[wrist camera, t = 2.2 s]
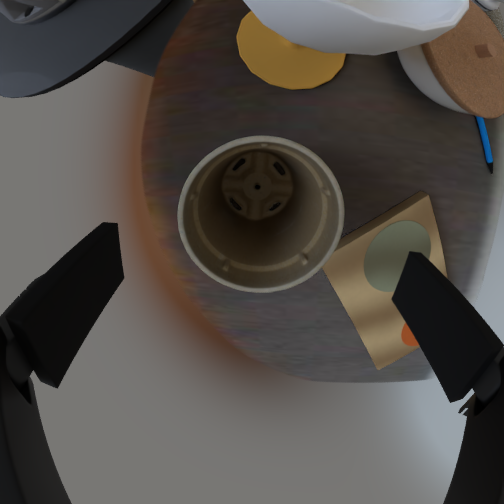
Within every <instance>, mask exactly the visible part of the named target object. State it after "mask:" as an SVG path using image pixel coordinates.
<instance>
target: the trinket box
mask: <svg viewBox="0 0 504 504" xmlns="http://www.w3.org/2000/svg"><path fill="white" fill-rule="evenodd" d="M397 53H398V57H399V60H400V62H401V64H402V67H403V69H404V70H405V72H406V74H407V75H408V77H409V78H410V80H411V81H412V82H413V83H414V84H415V86H416V87H417V88H418V89H419V90H420V91H421V92H422V93H423V94H424V95H426V96H427V97H428V98H430V99H431V100H433V101H434V102H436V103H438V104H440V105H442V106H444V107H446V108H449V109H451V110H454V111H458V112H461V113H467V114H472V115H475V116H478V117H482V118H488V119H490V118H497V117H499V116H501V115H502V114H504V40H503V38H502V36H501V34H500V32H499V31H498V29H497V28H496V26H495V25H494V23H493V22H492V20H491V19H490V18H489V17H488V16H487V15H486V13H485V12H484V11H483V10H482V9H481V8H480V7H479V6H477V5H476V4H475V3H474V2H472V1H471V0H469V9H468V11H467V12H466V13H465V15H464V16H463V17H462V19H461V20H460V21H459V23H458V24H457V25H456V26H455V27H454V28H453V29H451V30H449V31H447V32H446V33H444V34H442V35H441V36H439V37H437V38H436V39H434V40H432V41H431V42H427V43H423V44H419V45H415V46H412V47H408V48H405V49H402V50H398V51H397Z"/></svg>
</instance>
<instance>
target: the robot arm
mask: <svg viewBox="0 0 504 504" xmlns="http://www.w3.org/2000/svg"><path fill="white" fill-rule="evenodd" d="M75 1H76V0H0V12H1V13H2V14H3V15H5V16H6V17H7V18H8V19H9V20H10V21H12V22H14V23H19V24H24V25H34V24H38V23H41V22H44V21H46V20H48V19H50V18H52V17H54V16H55V15H57V14H58V13H60V12H62V11H63V10H64V9H66V8H67V7H69V6H70V5H71V4H73V3H74V2H75ZM123 279H124V273H123V266H122V259H121V250H120V242H119V232H118V224H117V223H108V222H103V223H101V224H100V225H99V226H98V227H96V228H95V229H94V230H93V231H92V232H90V233H89V234H88V235H87V236H86V237H85V238H83V239H82V240H81V241H80V242H79V243H78V244H77V245H75V246H74V247H73V248H72V249H71V250H70V251H69V252H67V253H66V254H65V255H64V256H63V257H62V258H61V259H60V260H59V261H58V262H57V263H56V264H55V265H53V266H52V267H51V268H50V269H49V270H48V271H47V272H46V273H45V274H43V275H42V276H40V277H38V278H37V279H35V280H34V281H33V282H32V283H31V284H30V285H29V286H28V287H27V288H26V290H24V291H23V292H22V293H21V294H20V297H19V296H18V297H17V298H16V299H15V300H14V302H13V303H12V304H11V305H10V306H9V307H8V308H7V309H6V310H5V312H4V313H3V314H2V315H1V316H0V504H72V503H71V501H70V499H69V498H68V495H67V493H66V491H65V489H64V486H63V484H62V482H61V479H60V477H59V474H58V472H57V469H56V466H55V464H54V461H53V458H52V456H51V453H50V450H49V446H48V443H47V440H46V437H45V434H44V430H43V426H42V422H41V419H40V414H39V410H38V406H37V401H36V397H35V391H34V386H33V382H32V380H31V378H30V375H31V373H32V371H33V370H34V372H35V373H36V375H37V377H38V378H39V380H40V381H41V382H43V383H45V384H48V385H50V386H52V387H55V388H58V387H59V385H60V383H61V381H62V379H63V377H64V375H65V374H66V371H67V370H68V368H69V366H70V364H71V362H72V361H73V359H74V357H75V355H76V354H77V352H78V350H79V348H80V347H81V345H82V343H83V342H84V340H85V338H86V337H87V335H88V333H89V331H90V330H91V328H92V327H93V325H94V323H95V322H96V320H97V319H98V317H99V315H100V314H101V312H102V311H103V309H104V307H105V306H106V305H107V303H108V302H109V300H110V298H111V297H112V295H113V294H114V292H115V291H116V290H117V288H118V287H119V285H120V284H121V282H122V281H123ZM391 300H392V302H393V303H394V305H395V306H396V308H397V309H398V311H399V312H400V314H401V316H402V317H403V319H404V320H405V322H406V324H407V325H408V327H409V329H410V330H411V332H412V334H413V335H414V337H415V339H416V340H417V342H418V344H419V345H420V347H421V349H422V351H423V352H424V354H425V356H426V358H427V359H428V361H429V363H430V365H431V367H432V369H433V370H434V372H435V374H436V376H437V378H438V380H439V382H440V384H441V385H442V387H443V390H444V392H445V393H446V395H447V398H448V399H449V401H450V403H451V402H455V401H457V400H460V399H463V398H464V397H465V396H466V394H467V393H468V392H469V391H470V390H471V389H472V388H473V390H474V392H475V393H474V394H473V395H472V396H471V397H470V399H469V400H468V401H467V402H466V403H465V404H464V405H463V406H462V407H461V408H460V410H459V412H458V413H461V412H462V411H463V410H464V409H465V408H468V409H467V410H466V412H465V413H464V414H463V415H465V416H467V420H466V426H465V431H464V436H463V441H462V445H461V449H460V453H459V457H458V461H457V464H456V468H455V471H454V475H453V478H452V481H451V484H450V487H449V490H448V493H447V495H446V498H445V501H444V503H443V504H504V347H503V346H504V345H503V343H502V342H501V341H500V339H499V338H498V337H497V335H496V334H495V333H494V332H493V330H492V329H491V328H490V326H489V325H488V324H487V323H486V322H485V320H484V319H483V318H482V317H481V316H480V314H479V313H478V312H477V311H476V310H475V308H474V307H473V306H472V305H471V304H470V303H469V302H468V300H467V299H466V298H465V297H464V296H463V295H462V294H461V293H460V292H459V290H458V289H457V288H456V287H455V286H454V285H453V284H452V283H451V282H450V281H449V280H448V279H447V278H446V277H445V276H444V275H443V274H442V273H441V271H440V270H439V269H438V268H437V267H436V266H435V265H434V264H433V263H432V262H430V261H429V260H428V259H427V258H426V257H425V256H424V255H423V254H422V253H421V252H413V251H409V254H408V257H407V260H406V262H405V265H404V268H403V271H402V273H401V276H400V279H399V281H398V284H397V286H396V289H395V291H394V294H393V296H392V298H391Z"/></svg>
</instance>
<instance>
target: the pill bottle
mask: <svg viewBox="0 0 504 504" xmlns="http://www.w3.org/2000/svg"><path fill="white" fill-rule="evenodd" d="M471 1H472V2H474V3H475V4H476V5H477V6H479V7H480V8H481V9H482V10H483V11H484V12H486V11H492V10H496V9H498V7H499V5H500V2H504V0H471Z"/></svg>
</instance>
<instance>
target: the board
mask: <svg viewBox="0 0 504 504" xmlns="http://www.w3.org/2000/svg"><path fill="white" fill-rule="evenodd" d="M409 251H413V252H421V253H422V254H423V255H424V256H425V257H426V258H427V259H428V260H429V261H430V262H432V263H433V264H434V265H435V266H436V267H437V268H438V269H439V270H440V271H441V273H442V274H443V275H444V276H445V277H446V278H447V273H446V267H445V261H444V255H443V250H442V245H441V241H440V236H439V232H438V228H437V224H436V220H435V216H434V212H433V208H432V205H431V201H430V198H429V195H428V194H426V193H424V192H422V191H419V192H418V193H416V194H414V195H413V196H411V197H410V198H408V199H406V200H405V201H403V202H402V203H400V204H398V205H397V206H395V207H393V208H392V209H390V210H388V211H387V212H385V213H383V214H382V215H380V216H378V217H377V218H375V219H373V220H372V221H370V222H368V223H367V224H365V225H363V226H362V227H360V228H358V229H356V230H355V231H353V232H351V233H350V234H348V235H346V236H344V237H343V238H341V239H340V240H339V243H338V245H337V247H336V249H335V250H334V253H333V254H332V255H331V257H330V259H329V260H328V261H327V262H326V263H325V264H324V266H323V267H322V269H323V270H324V272H325V274H326V275H327V277H328V279H329V281H330V282H331V284H332V286H333V288H334V289H335V291H336V293H337V295H338V297H339V298H340V300H341V302H342V304H343V305H344V307H345V309H346V311H347V313H348V315H349V316H350V318H351V320H352V322H353V324H354V326H355V327H356V329H357V331H358V333H359V335H360V337H361V339H362V341H363V343H364V344H365V346H366V348H367V350H368V352H369V354H370V356H371V358H372V360H373V362H374V364H375V366H376V368H377V370H379V369H381V368H383V367H385V366H387V365H389V364H391V363H393V362H394V361H396V360H398V359H400V358H402V357H403V356H405V355H407V354H409V353H410V352H412V351H414V350H415V349H417V348H419V347H420V345H418V346H408V345H406V344H404V342H403V341H402V338H401V332H402V329H403V326H404V324H405V320H404V319H403V317H402V316H401V314H400V312H399V311H398V309H397V308H396V306H395V305H394V303H393V302H392V300H391V298H392V296H393V294H394V291H395V289H396V286H397V284H398V281H399V279H400V276H401V273H402V271H403V268H404V265H405V262H406V260H407V257H408V254H409Z"/></svg>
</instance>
